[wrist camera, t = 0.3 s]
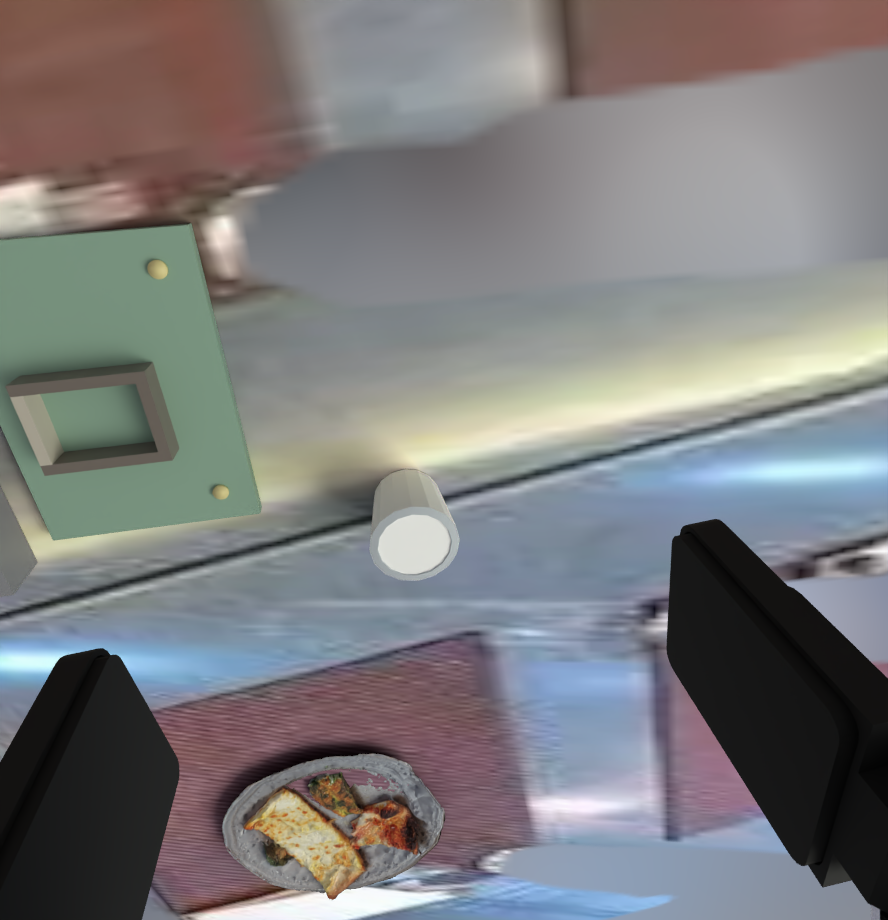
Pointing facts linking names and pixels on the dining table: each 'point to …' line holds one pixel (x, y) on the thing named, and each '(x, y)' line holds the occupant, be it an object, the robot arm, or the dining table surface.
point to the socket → (142, 374)
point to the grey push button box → (12, 551)
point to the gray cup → (411, 527)
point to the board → (119, 407)
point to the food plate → (333, 826)
